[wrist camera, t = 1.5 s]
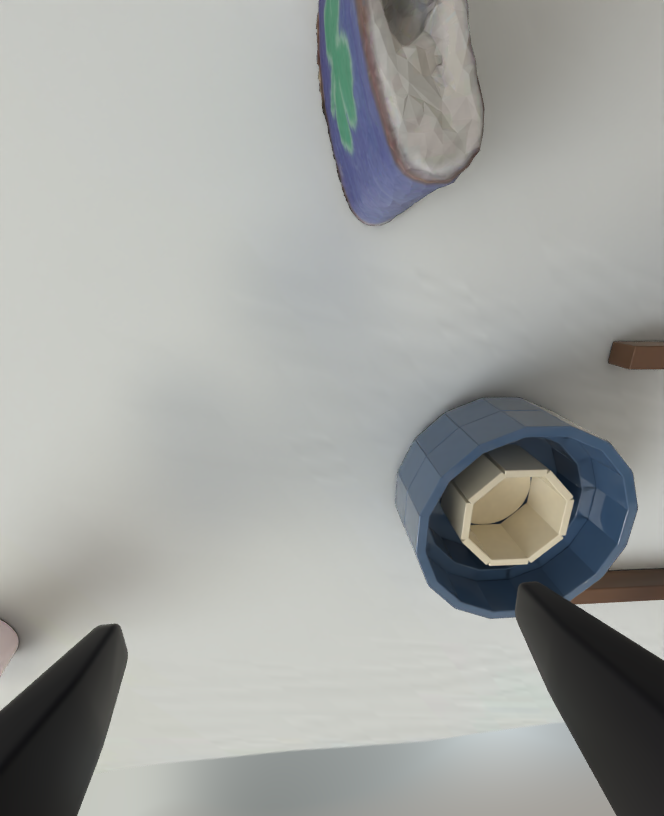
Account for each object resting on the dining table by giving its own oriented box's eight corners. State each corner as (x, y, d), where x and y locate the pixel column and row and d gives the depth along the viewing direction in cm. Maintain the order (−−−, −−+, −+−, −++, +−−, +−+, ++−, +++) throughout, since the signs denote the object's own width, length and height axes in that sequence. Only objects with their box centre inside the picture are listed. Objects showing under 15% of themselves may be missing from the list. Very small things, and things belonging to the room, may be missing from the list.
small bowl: (541, 440, 22) (582, 468, 19) (524, 524, 24) (559, 563, 20) (445, 442, 21) (470, 471, 18) (435, 527, 23) (457, 567, 20)
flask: (403, 222, 18) (532, 150, 8) (341, 233, 18) (390, 175, 8) (377, -37, 15) (530, -686, 5) (302, -24, 15) (302, -652, 5)
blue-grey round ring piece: (588, 393, 22) (664, 424, 17) (551, 551, 25) (606, 612, 20) (400, 395, 21) (428, 428, 16) (388, 558, 24) (408, 623, 20)
